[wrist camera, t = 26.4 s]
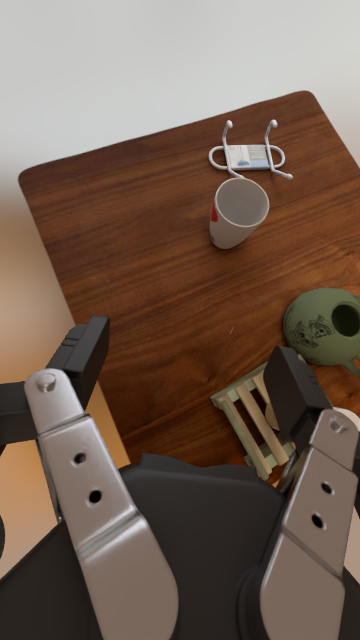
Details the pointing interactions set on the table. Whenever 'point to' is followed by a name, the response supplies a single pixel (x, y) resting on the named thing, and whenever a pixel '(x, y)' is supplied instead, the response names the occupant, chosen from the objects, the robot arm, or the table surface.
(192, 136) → the table surface
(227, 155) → the wall mount rack
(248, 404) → the drying rack
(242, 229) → the cup
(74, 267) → the table surface
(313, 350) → the olive green ceramic pot
